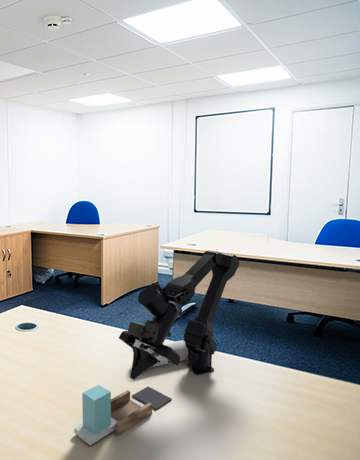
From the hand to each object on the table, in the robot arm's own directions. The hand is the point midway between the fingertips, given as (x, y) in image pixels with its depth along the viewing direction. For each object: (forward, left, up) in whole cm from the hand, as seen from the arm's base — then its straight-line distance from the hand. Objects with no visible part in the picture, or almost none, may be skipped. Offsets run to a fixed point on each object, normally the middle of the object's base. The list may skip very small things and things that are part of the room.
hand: (131, 378), depth 88 cm
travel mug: (-7, -19, -6) cm, 22 cm away
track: (+3, +1, -9) cm, 9 cm away
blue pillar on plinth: (+10, +5, -9) cm, 14 cm away
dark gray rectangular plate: (-7, -3, -9) cm, 11 cm away
